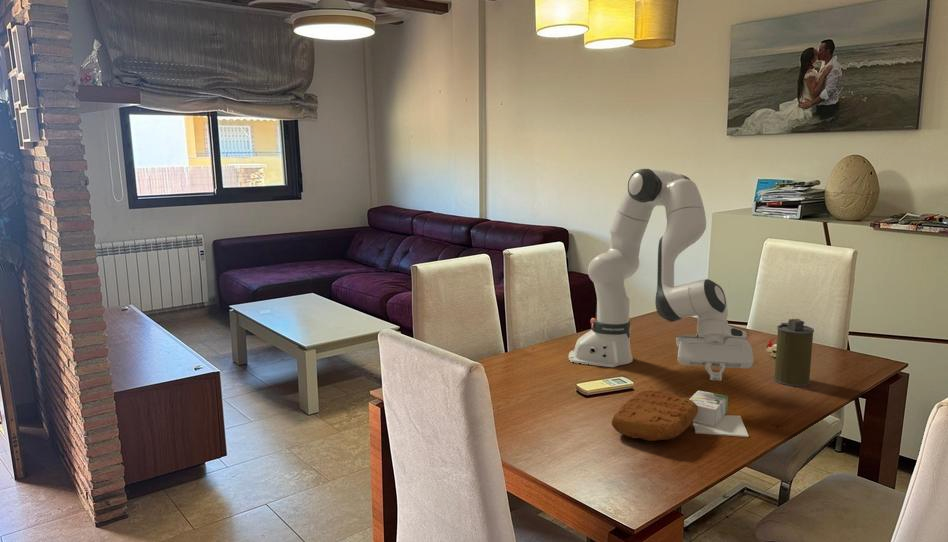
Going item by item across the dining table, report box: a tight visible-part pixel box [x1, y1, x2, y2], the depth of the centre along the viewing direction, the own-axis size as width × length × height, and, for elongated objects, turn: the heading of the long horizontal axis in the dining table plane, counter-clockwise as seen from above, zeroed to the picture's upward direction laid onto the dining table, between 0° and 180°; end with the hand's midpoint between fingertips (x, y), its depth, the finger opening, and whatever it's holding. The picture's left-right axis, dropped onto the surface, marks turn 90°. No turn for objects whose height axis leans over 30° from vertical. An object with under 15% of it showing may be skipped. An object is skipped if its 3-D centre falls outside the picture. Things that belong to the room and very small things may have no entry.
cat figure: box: [765, 337, 777, 358], centre depth 234 cm, size 10×9×25 cm
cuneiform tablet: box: [611, 389, 698, 442], centre depth 169 cm, size 22×17×8 cm
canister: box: [773, 318, 815, 387], centre depth 203 cm, size 11×10×20 cm
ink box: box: [688, 390, 729, 426], centre depth 178 cm, size 8×5×12 cm
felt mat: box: [692, 414, 750, 438], centre depth 173 cm, size 13×13×1 cm
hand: (716, 379), depth 179 cm, fingers closed
